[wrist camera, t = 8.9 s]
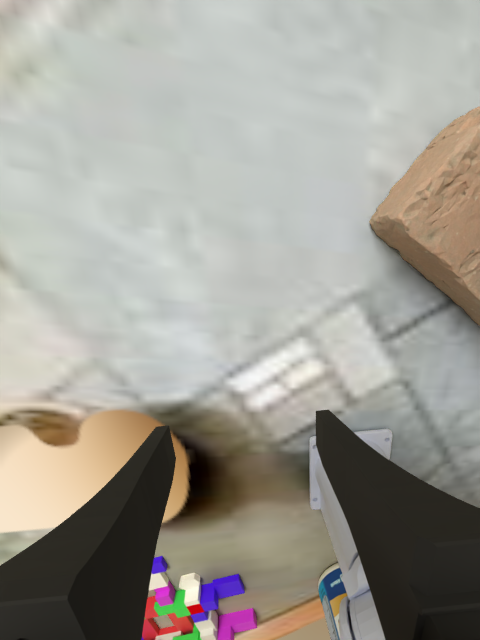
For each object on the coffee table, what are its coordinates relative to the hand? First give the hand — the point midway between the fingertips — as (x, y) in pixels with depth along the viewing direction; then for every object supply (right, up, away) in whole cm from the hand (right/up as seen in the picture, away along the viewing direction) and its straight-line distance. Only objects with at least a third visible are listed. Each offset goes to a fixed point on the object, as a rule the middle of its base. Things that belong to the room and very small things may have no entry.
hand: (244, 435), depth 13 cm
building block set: (-12, -31, +22) cm, 40 cm away
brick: (+18, +12, +8) cm, 23 cm away
